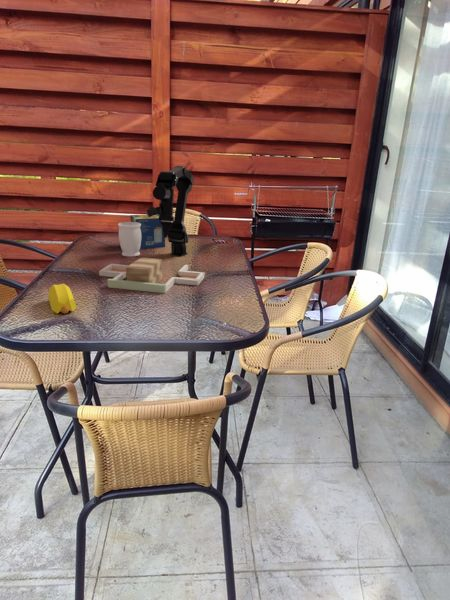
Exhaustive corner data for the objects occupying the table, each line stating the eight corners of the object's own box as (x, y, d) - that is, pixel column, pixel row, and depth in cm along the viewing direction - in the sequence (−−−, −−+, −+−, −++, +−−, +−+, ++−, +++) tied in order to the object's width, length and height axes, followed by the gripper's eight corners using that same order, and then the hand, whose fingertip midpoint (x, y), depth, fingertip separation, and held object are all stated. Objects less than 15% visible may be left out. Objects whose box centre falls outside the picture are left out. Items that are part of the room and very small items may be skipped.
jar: (144, 252, 220) (143, 222, 215) (138, 258, 211) (137, 226, 205) (123, 251, 221) (121, 221, 216) (116, 256, 211) (114, 225, 206)
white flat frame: (119, 262, 203) (118, 256, 201) (209, 271, 195) (209, 264, 194) (85, 284, 174) (84, 277, 173) (189, 295, 166) (189, 288, 165)
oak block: (141, 275, 187) (141, 257, 184) (162, 277, 185) (161, 259, 182) (127, 287, 173) (126, 267, 170) (149, 289, 172) (148, 269, 169)
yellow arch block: (70, 296, 162) (47, 299, 159) (68, 278, 160) (45, 281, 157) (78, 314, 147) (53, 318, 144) (76, 295, 145) (51, 298, 142)
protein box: (131, 244, 234) (129, 215, 228) (159, 242, 240) (159, 213, 234) (136, 249, 225) (135, 218, 219) (165, 247, 231) (165, 217, 225)
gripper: (148, 200, 202) (146, 235, 204) (147, 199, 184) (145, 237, 186) (173, 202, 203) (171, 237, 206) (174, 201, 185) (172, 239, 188)
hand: (165, 237), depth 197 cm, fingers closed
